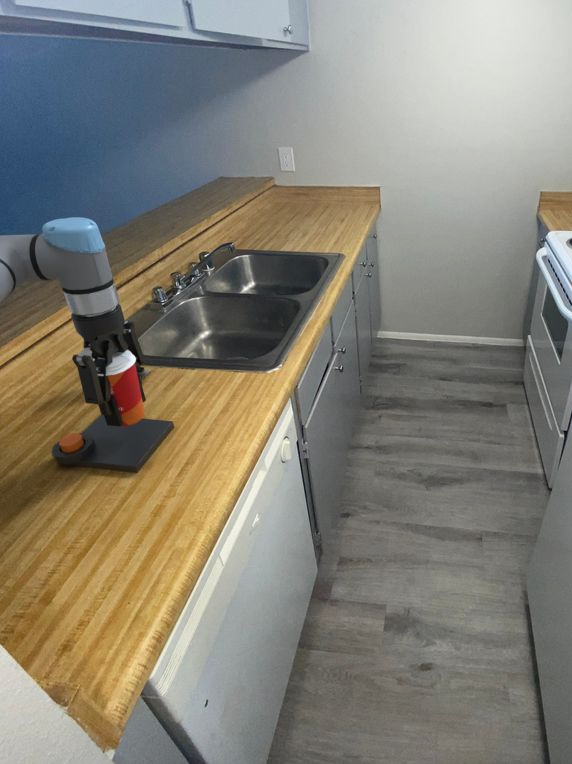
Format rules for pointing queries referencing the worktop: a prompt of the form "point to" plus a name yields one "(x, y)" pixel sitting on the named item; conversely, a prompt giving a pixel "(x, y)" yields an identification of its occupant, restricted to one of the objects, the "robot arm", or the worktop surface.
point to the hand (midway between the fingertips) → (127, 412)
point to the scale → (116, 445)
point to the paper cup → (125, 387)
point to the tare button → (71, 442)
